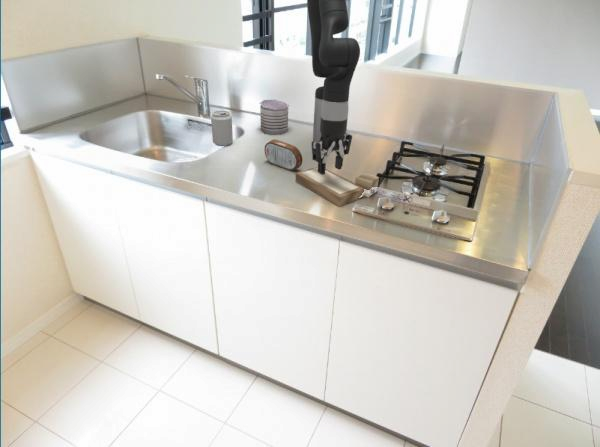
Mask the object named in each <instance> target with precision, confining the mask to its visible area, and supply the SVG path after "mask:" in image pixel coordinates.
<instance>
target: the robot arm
mask: <svg viewBox="0 0 600 447" xmlns="http://www.w3.org/2000/svg"><path fill="white" fill-rule="evenodd" d="M306 2H307V13H308V14H307V15H308V20H309V30H310V39H311V67H312V72H313V75H314V76H315V77H317V78H321V79H323V78H324V81H323V86H319V87H317V88H316V89H315V92H314V109H313V110H314V111H313V112H314V113H313V130H312V141H311V156H312V161H314V162H316V163H317V167H318V172H319V173H320V174H322V175H324V174H325V169H327V167H326V164H327V163H326V162H327V159H328V157H330V155H331V153H332V152H335V160H334V168H335V169H337V170H342V167H343V164H344V163H343V162H344V158H345V156H346V155H349V153H350V150H351V145H352V139H353V134H349V133H347V130H348V117H349V107H350V106H349V98H350V89H351V88H350V87H351V82H352V80H353V77H354V73H355V70H356V68H357V66H358V63H359V60H360V57H361V56H360V55H361V47H360V43H359V42H358V41H357V39H356V38H353V37H334V36H335V35H338V34H341V33H344V32H345V31H346V30H348V27H349V21H350V20H349V15H348V6H347V0H306Z"/></svg>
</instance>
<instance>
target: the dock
mask: <svg viewBox="0 0 600 447" xmlns="http://www.w3.org/2000/svg"><path fill="white" fill-rule="evenodd" d="M295 182H296V183H297V184H299V185H301V186H302V187H303V188H306V189H308V190H309V191H311V192H313V193H314V194H317V195H318V196H320V197H322V198H323V199H324V200H327V201H329V202H331V204H333V205H334V206H337V207H339V208H340V207H341V206H344V205H347V204H349V203H352V202H356V201H357V200H359V199H358V198H359V197H360V196H361V195H362V193H363V192H364V189H365V188H363V187H361V186H359V185H357V184H355V183H356V182H353V181H351V180H349V179H347V178H345V177H343V176H341V175H339V174H337V173H335V172H333V171H331V170H329V169H327V168H325V174H324V175H322V174H320V173H319V172H318V166H314V167H311V168H308V169H305V170H302V171H297V172H295Z"/></svg>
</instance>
